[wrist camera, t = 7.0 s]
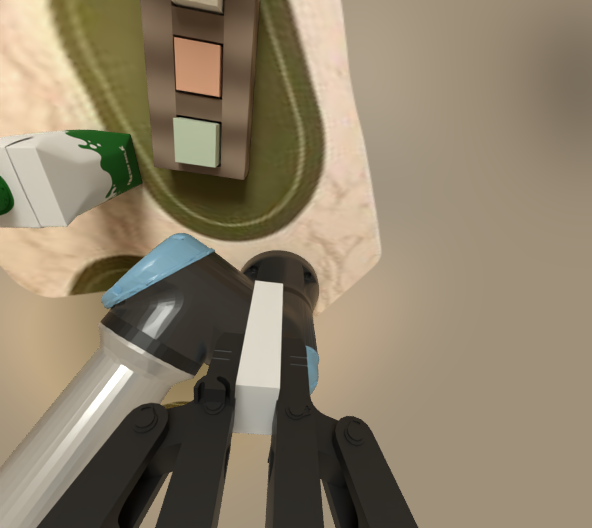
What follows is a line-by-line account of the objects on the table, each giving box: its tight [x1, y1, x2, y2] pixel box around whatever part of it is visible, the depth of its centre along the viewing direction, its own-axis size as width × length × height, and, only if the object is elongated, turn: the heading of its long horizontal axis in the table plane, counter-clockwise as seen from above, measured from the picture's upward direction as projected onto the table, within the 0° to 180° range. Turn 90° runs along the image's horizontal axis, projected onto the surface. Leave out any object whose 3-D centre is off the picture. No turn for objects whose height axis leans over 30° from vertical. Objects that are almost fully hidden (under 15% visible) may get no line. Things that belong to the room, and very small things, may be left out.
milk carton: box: [0, 130, 142, 228], centre depth 34 cm, size 9×9×20 cm
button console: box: [140, 0, 260, 180], centre depth 35 cm, size 24×12×5 cm, turn 171°
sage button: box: [173, 117, 222, 168], centre depth 37 cm, size 5×5×4 cm
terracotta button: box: [174, 37, 223, 97], centre depth 34 cm, size 5×5×4 cm
